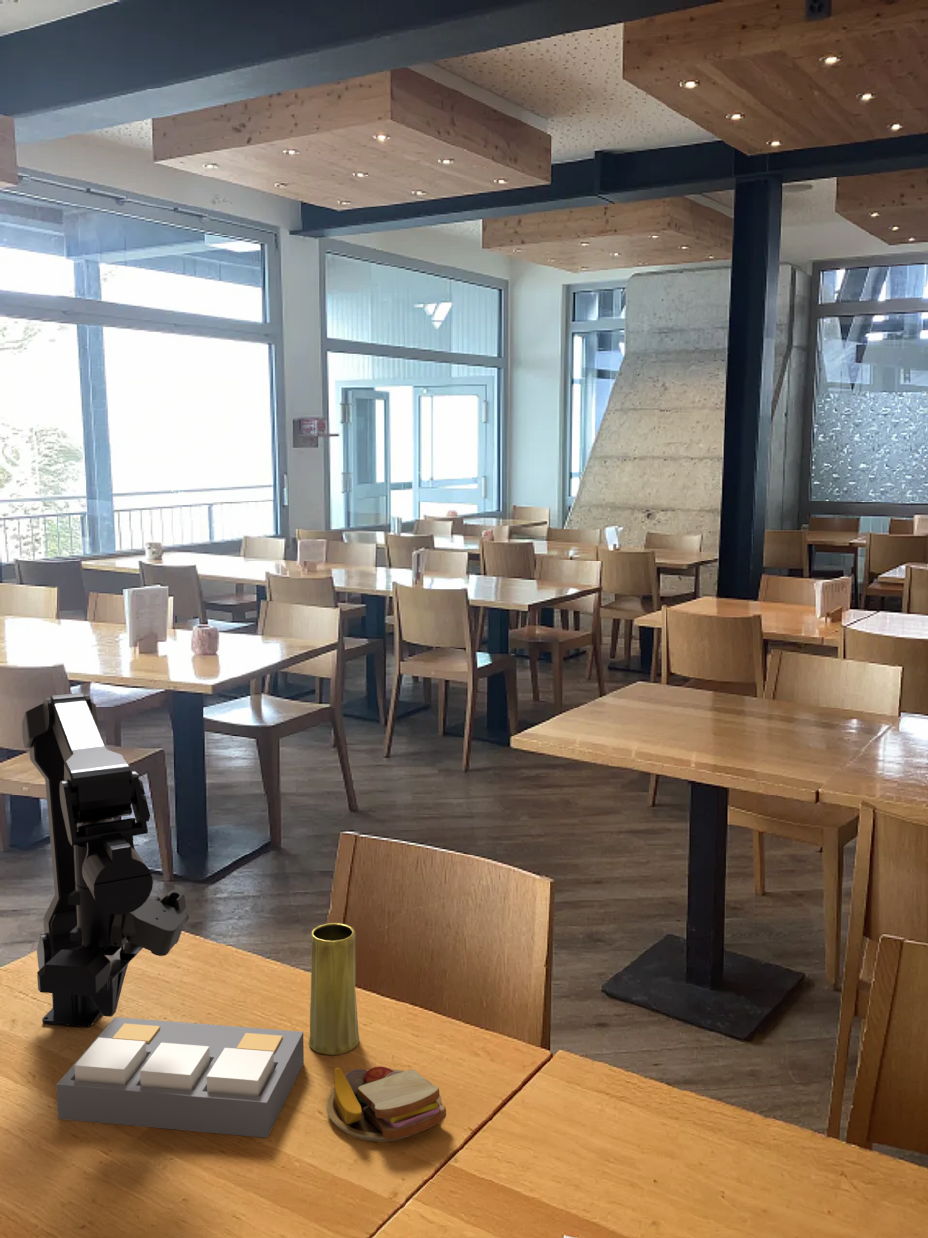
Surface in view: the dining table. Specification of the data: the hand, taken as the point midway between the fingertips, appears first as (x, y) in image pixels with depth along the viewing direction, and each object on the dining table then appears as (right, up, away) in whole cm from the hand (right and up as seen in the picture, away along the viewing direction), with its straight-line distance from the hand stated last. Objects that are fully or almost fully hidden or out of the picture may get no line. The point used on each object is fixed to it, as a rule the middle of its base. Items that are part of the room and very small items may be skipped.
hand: (109, 1015), depth 116 cm
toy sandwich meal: (+31, -11, 0) cm, 33 cm away
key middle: (+7, -7, 0) cm, 10 cm away
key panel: (+8, -10, +3) cm, 13 cm away
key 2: (+15, -7, -1) cm, 16 cm away
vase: (+23, -9, +14) cm, 28 cm away
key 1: (0, -7, +1) cm, 7 cm away
